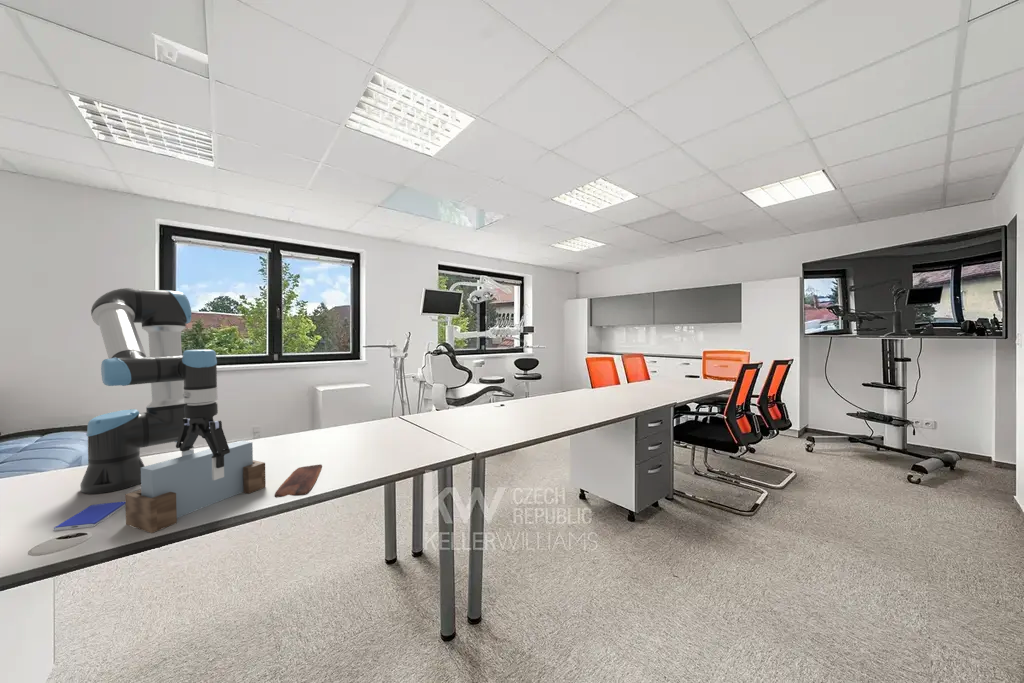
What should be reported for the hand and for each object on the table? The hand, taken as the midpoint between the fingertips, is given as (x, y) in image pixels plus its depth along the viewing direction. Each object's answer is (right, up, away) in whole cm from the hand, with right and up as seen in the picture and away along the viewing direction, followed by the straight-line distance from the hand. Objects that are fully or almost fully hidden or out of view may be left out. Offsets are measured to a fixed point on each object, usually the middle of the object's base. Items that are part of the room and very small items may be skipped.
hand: (202, 475), depth 111 cm
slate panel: (0, -9, 0) cm, 9 cm away
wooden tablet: (+18, -9, +19) cm, 28 cm away
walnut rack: (0, -9, 0) cm, 9 cm away
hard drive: (-24, -9, -8) cm, 27 cm away
